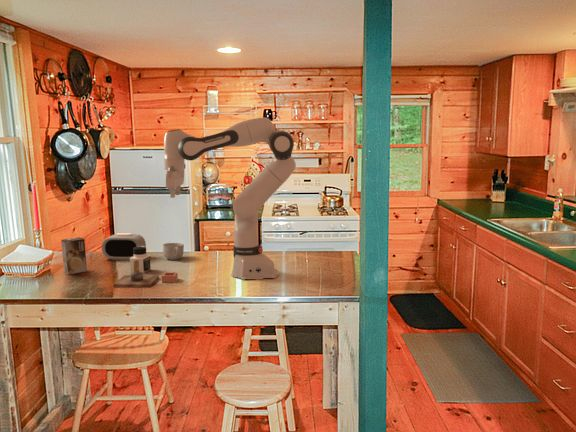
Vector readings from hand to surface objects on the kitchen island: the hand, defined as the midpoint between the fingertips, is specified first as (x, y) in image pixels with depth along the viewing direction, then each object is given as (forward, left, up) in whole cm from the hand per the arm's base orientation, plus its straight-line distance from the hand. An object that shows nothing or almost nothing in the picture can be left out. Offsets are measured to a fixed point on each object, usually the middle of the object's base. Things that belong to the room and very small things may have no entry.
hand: (175, 196), depth 229 cm
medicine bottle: (+20, -9, -38) cm, 44 cm away
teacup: (+9, -32, -38) cm, 51 cm away
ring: (+2, +7, -38) cm, 38 cm away
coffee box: (+51, -7, -38) cm, 64 cm away
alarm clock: (+36, -33, -38) cm, 62 cm away
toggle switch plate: (+16, +10, -38) cm, 42 cm away
